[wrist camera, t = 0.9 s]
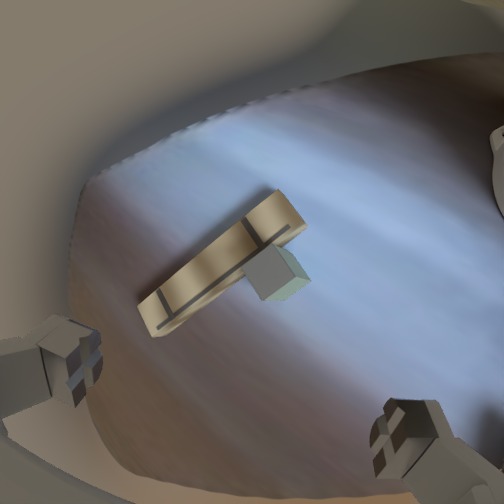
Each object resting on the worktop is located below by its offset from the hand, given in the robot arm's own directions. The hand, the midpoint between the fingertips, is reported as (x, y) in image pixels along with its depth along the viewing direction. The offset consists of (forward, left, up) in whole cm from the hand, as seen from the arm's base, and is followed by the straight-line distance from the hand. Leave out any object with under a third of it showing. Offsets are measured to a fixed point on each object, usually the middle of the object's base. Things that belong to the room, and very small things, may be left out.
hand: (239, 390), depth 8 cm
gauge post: (+3, -8, -30) cm, 31 cm away
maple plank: (+10, -14, -30) cm, 35 cm away
